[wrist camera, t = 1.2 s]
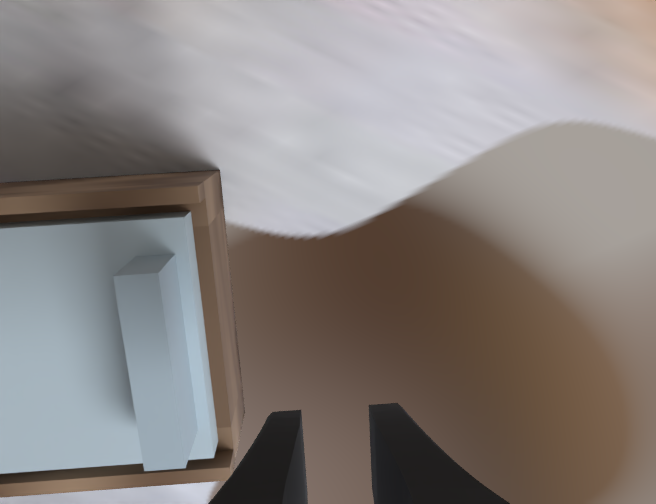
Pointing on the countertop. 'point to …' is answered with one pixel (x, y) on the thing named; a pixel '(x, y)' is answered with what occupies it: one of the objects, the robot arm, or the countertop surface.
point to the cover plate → (103, 345)
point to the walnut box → (216, 295)
